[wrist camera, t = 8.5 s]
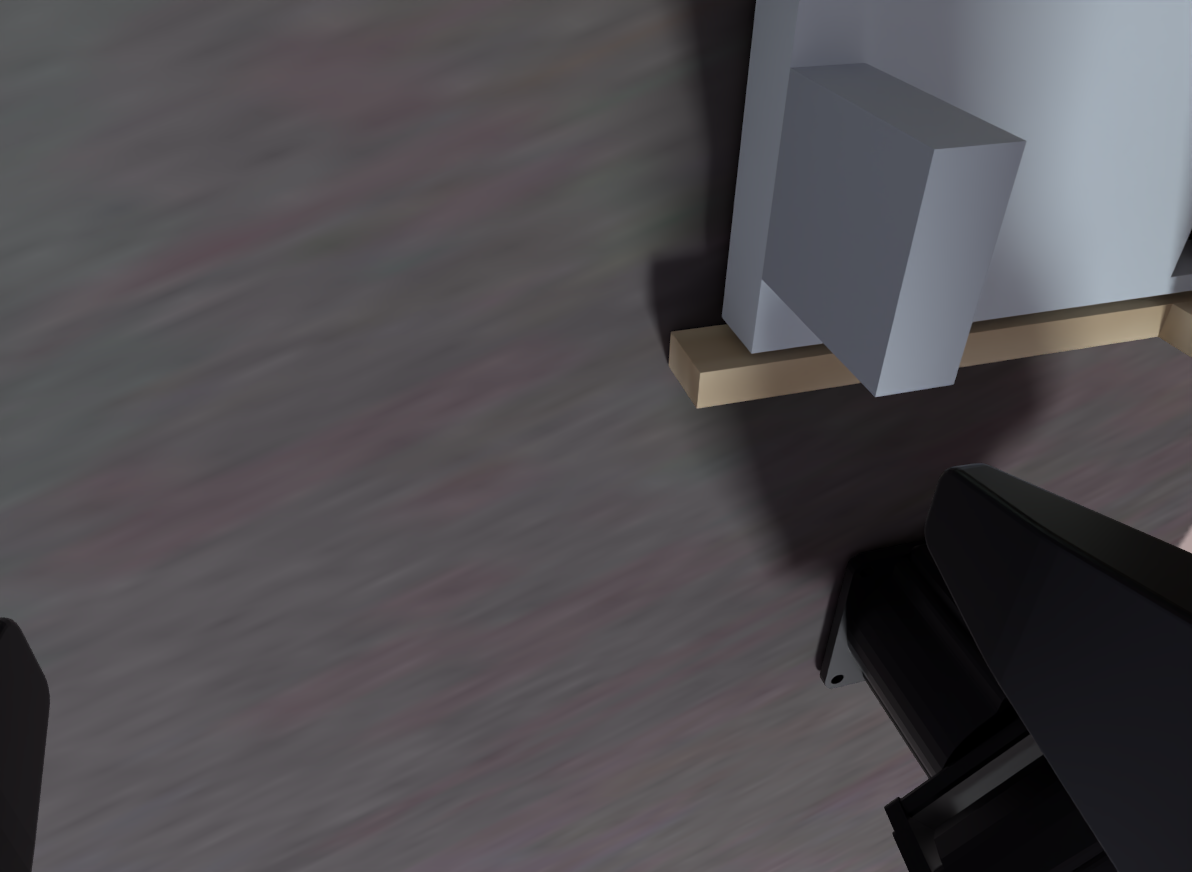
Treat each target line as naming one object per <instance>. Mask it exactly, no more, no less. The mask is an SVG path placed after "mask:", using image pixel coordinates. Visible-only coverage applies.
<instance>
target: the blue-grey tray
mask: <svg viewBox="0 0 1192 872" xmlns="http://www.w3.org/2000/svg"><path fill="white" fill-rule="evenodd" d="M1191 230H1192V0H756V8H755V17H754V26H753V35H752V44H751V53H750V63H749V72H748V81H747V90H746V99H745V109H744V118H743V127H742V136H741V145H740V155H739V164H738V173H737V182H736V191H735V201H734V210H733V219H732V228H731V237H730V246H729V256H728V265H727V274H726V283H725V292H724V302H723V311H722V318H723V319H724V321H725V322H726V323H727V324H728V325H729V327H730V328H731V329H732V330H733V332H734V333H735V334H736V335H737V336H738V338H739V339H740V340H741V341H742V343H743V344H744V345H745V346H746V347H747V349H748V350H749V351H750V352H751V354H753V353H760V352H767V351H774V350H781V349H788V348H795V347H802V346H809V345H815V344H822V343H824V344H825V346H826V347H827V348H828V349H829V350H830V351H831V352H832V353H833V354H834V355H835V356H836V357H837V358H838V359H839V360H840V361H841V362H842V363H843V364H844V365H845V366H846V367H847V368H848V369H849V371H850V372H851V373H852V374H853V375H854V376H855V377H856V378H857V379H858V380H859V381H860V382H861V383H862V384H863V385H864V386H865V387H866V388H867V389H868V390H869V391H870V392H871V393H872V394H873V395H874V397H879V396H886V395H892V394H898V393H904V392H910V391H917V390H923V389H929V388H935V387H941V386H948V385H954V382H955V378H956V375H957V372H958V368H959V365H960V362H961V358H962V355H963V352H964V348H965V345H966V342H967V338H968V335H969V332H970V328H971V325H972V322H976V321H983V320H990V319H997V318H1004V317H1011V316H1018V315H1025V314H1032V313H1039V312H1046V311H1052V310H1059V309H1066V308H1073V307H1080V306H1087V305H1094V304H1101V303H1108V302H1115V301H1122V300H1129V299H1136V298H1143V297H1150V296H1157V295H1164V294H1171V293H1178V292H1185V291H1192V240H1187V239H1188V236H1189V234H1190V232H1191Z"/></svg>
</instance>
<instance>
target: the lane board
mask: <svg viewBox="0 0 1192 872" xmlns="http://www.w3.org/2000/svg"><path fill="white" fill-rule="evenodd" d="M1151 337H1160V338H1161V339H1163V340H1165V341H1166V342H1168V343H1169V344H1171V345H1172V346H1174V347H1176V348H1177V349H1179V350H1180V351H1182V352H1183V353H1185V354H1187V355H1188V356H1190V357H1191V358H1192V291H1185V292H1178V293H1171V294H1164V295H1157V296H1150V297H1143V298H1136V299H1129V300H1122V301H1115V302H1108V303H1101V304H1094V305H1087V306H1080V307H1073V308H1066V309H1059V310H1052V311H1046V312H1039V313H1032V314H1025V315H1018V316H1011V317H1004V318H997V319H990V320H983V321H976V322H972V325H971V328H970V332H969V335H968V338H967V342H966V345H965V348H964V352H963V355H962V358H961V362H960V365H959V367H966V366H972V365H979V364H985V363H991V362H998V361H1004V360H1011V359H1017V358H1023V357H1030V356H1036V355H1043V354H1049V353H1055V352H1062V351H1068V350H1075V349H1081V348H1087V347H1094V346H1100V345H1106V344H1113V343H1119V342H1126V341H1132V340H1138V339H1145V338H1151ZM669 367H670V369H671V370H672V372H673V373H674V375H675V376H676V378H677V379H678V381H679V382H680V384H681V385H682V387H683V388H684V390H685V391H686V393H687V394H688V396H689V397H690V399H691V401H692V402H693V404H694V405H695V407H696V408H704V407H710V406H716V405H723V404H729V403H736V402H742V401H748V400H755V399H761V398H768V397H774V396H780V395H787V394H793V393H800V392H806V391H812V390H819V389H825V388H832V387H838V386H844V385H851V384H857V383H861V382H860V381H859V380H858V379H857V378H856V377H855V376H854V375H853V374H852V373H851V372H850V371H849V369H848V368H847V367H846V366H845V365H844V364H843V363H842V362H841V361H840V360H839V359H838V358H837V357H836V356H835V355H834V354H833V353H832V352H831V351H830V350H829V349H828V348H827V347H826V346H825V344H824V343H822V344H815V345H809V346H802V347H795V348H788V349H781V350H774V351H767V352H760V353H753V354H751V352H750V351H749V350H748V349H747V347H746V346H745V345H744V344H743V343H742V341H741V340H740V339H739V338H738V336H737V335H736V334H735V333H734V332H733V330H732V329H731V328H730V327H729V325H728V324H724V325H717V326H710V327H702V328H695V329H687V330H680V331H672V332H671V339H670V353H669Z"/></svg>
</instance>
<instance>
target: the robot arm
mask: <svg viewBox="0 0 1192 872" xmlns="http://www.w3.org/2000/svg"><path fill="white" fill-rule="evenodd" d="M924 533H925V540H923V541H918V542H913V543H908V544H904V545H899V546H894V547H889V548H884V549H879V550H874V551H869V552H865V553H861V554H858V555H857V556H855V557H854V558H852V559H851V561H850V562H849V563H848V565H847V568H846V572H845V576H844V580H843V584H842V588H841V592H840V596H839V600H838V604H837V608H836V612H835V616H834V620H833V624H832V628H831V632H830V636H829V640H828V644H827V648H826V652H825V656H824V660H823V664H822V668H821V672H820V678H821V679H822V681H823V683H824V684H825V686H826V687H827V688H837V687H841V686H845V685H850V684H854V683H858V682H862V681H866V682H867V684H868V685H869V687H870V688H871V690H872V692H873V693H874V695H875V696H876V698H877V699H878V701H879V702H880V704H881V705H882V707H883V709H884V710H885V712H886V713H887V715H888V716H889V718H890V719H891V721H892V722H893V724H894V726H895V727H896V729H897V730H898V732H899V733H900V735H901V736H902V738H903V739H904V741H905V743H906V744H907V746H908V747H909V749H910V750H911V752H912V753H913V755H914V756H915V758H916V760H917V761H918V763H919V764H920V766H921V767H922V769H923V770H924V772H925V773H926V775H927V777H928V778H929V779H928V780H927V781H925V782H924V783H922V784H921V785H920V786H918V787H917V788H915V789H914V790H913V791H911V792H910V793H908V794H907V795H905V796H904V797H903V798H899V797H897V798H896V799H894V800H893V801H891V802H890V803H889V804H887V805H886V806H885V807H884V808H885V811H886V813H887V815H888V818H889V820H890V822H891V824H892V827H893V829H894V832H893V836H894V839H895V841H896V843H897V846H898V848H899V850H900V852H901V855H902V857H903V859H904V861H905V864H906V866H907V868H908V870H909V872H1192V553H1190V552H1187V551H1185V550H1183V549H1181V548H1178V547H1176V546H1174V545H1171V544H1169V543H1167V542H1164V541H1162V540H1160V539H1157V538H1155V537H1153V536H1151V535H1148V534H1146V533H1144V532H1141V531H1139V530H1137V529H1134V528H1132V527H1130V526H1128V525H1125V524H1123V523H1121V522H1118V521H1116V520H1114V519H1111V518H1109V517H1107V516H1104V515H1102V514H1100V513H1098V512H1095V511H1093V510H1091V509H1088V508H1086V507H1084V506H1081V505H1079V504H1077V503H1075V502H1072V501H1070V500H1068V499H1065V498H1063V497H1061V496H1058V495H1056V494H1054V493H1052V492H1049V491H1047V490H1045V489H1042V488H1040V487H1038V486H1035V485H1033V484H1031V483H1028V482H1026V481H1024V480H1022V479H1019V478H1017V477H1015V476H1012V475H1010V474H1008V473H1005V472H1003V471H1001V470H999V469H996V468H994V467H992V466H989V465H987V464H983V463H973V464H967V465H961V466H954V467H950V468H948V469H946V470H945V471H944V472H943V473H942V474H941V475H940V478H939V480H938V483H937V487H936V490H935V493H934V496H933V500H932V503H931V506H930V509H929V512H928V516H927V519H926V522H925V530H924ZM49 708H50V694H49V688H48V684H47V680H46V678H45V676H44V674H43V672H42V670H41V668H40V666H39V664H38V662H37V660H36V658H35V656H34V654H33V652H32V650H31V648H30V646H29V644H28V642H27V640H26V638H25V636H24V634H23V633H22V631H21V629H20V627H19V626H18V625H17V623H16V622H14V621H13V620H12V619H9V618H0V872H31V871H32V863H33V856H34V848H35V840H36V830H37V821H38V812H39V802H40V793H41V783H42V774H43V765H44V755H45V746H46V736H47V727H48V717H49Z"/></svg>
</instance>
